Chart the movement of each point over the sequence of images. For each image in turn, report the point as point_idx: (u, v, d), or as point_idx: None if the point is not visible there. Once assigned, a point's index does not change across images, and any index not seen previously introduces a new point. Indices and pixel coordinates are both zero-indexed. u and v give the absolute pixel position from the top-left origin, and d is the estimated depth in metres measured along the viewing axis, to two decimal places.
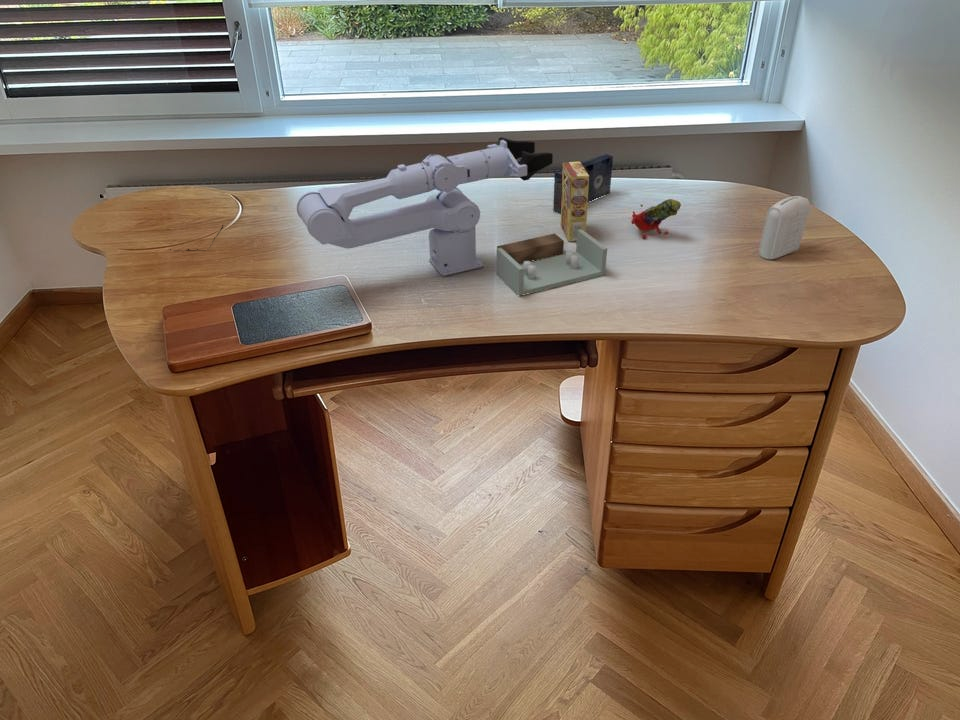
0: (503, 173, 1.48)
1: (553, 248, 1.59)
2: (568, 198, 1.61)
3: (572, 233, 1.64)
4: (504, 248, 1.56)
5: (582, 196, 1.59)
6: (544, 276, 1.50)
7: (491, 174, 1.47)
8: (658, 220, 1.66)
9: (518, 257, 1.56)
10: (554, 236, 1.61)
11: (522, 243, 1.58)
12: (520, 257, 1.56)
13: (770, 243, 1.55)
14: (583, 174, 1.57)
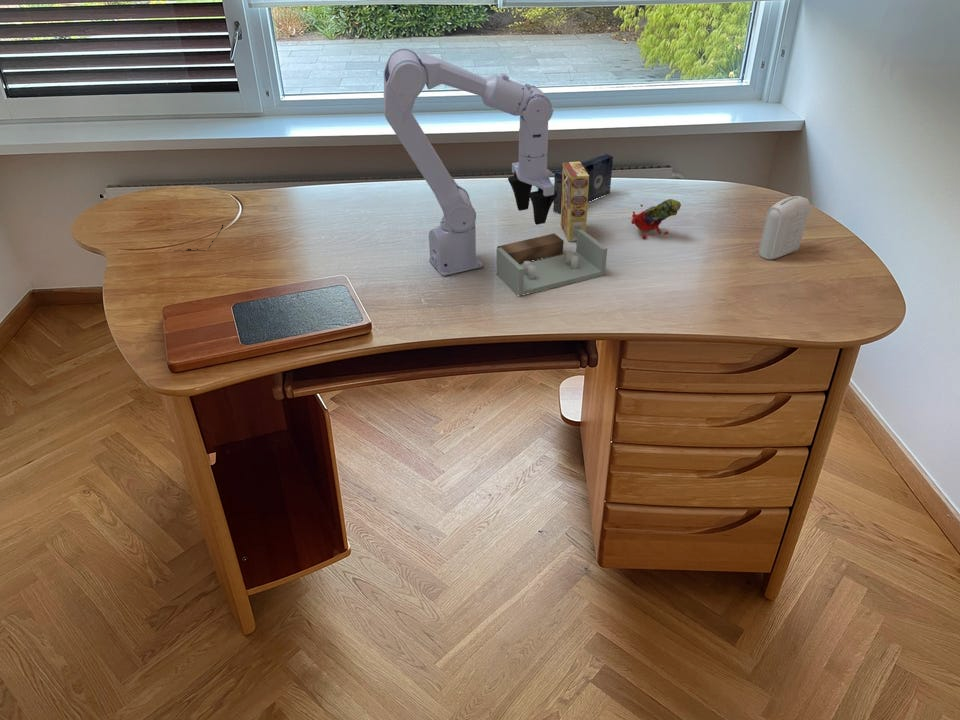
0: (530, 174, 1.46)
1: (553, 247, 1.59)
2: (568, 198, 1.61)
3: (572, 233, 1.64)
4: (504, 248, 1.56)
5: (582, 196, 1.59)
6: (544, 276, 1.50)
7: (533, 161, 1.45)
8: (658, 220, 1.66)
9: (518, 257, 1.56)
10: (554, 236, 1.61)
11: (522, 243, 1.58)
12: (520, 257, 1.56)
13: (770, 243, 1.55)
14: (583, 174, 1.57)
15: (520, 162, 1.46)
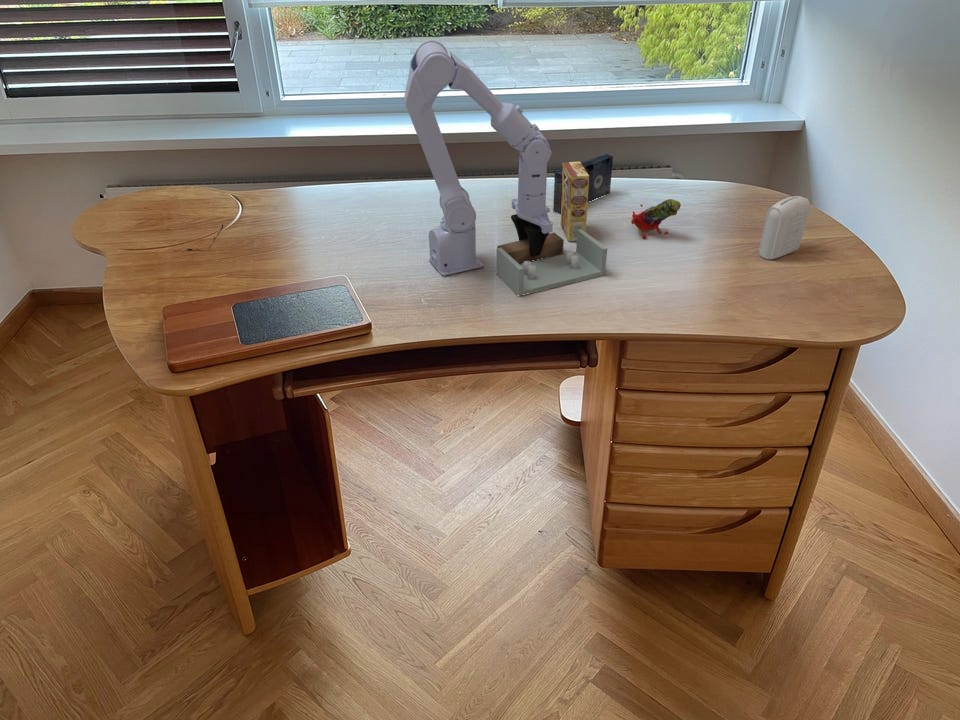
0: (529, 212, 1.51)
1: (553, 247, 1.59)
2: (568, 198, 1.61)
3: (572, 233, 1.64)
4: (505, 248, 1.56)
5: (582, 196, 1.59)
6: (544, 276, 1.50)
7: (532, 199, 1.49)
8: (658, 220, 1.66)
9: (519, 257, 1.56)
10: (554, 235, 1.61)
11: (522, 242, 1.58)
12: (521, 256, 1.56)
13: (770, 243, 1.55)
14: (583, 174, 1.57)
15: (519, 200, 1.51)
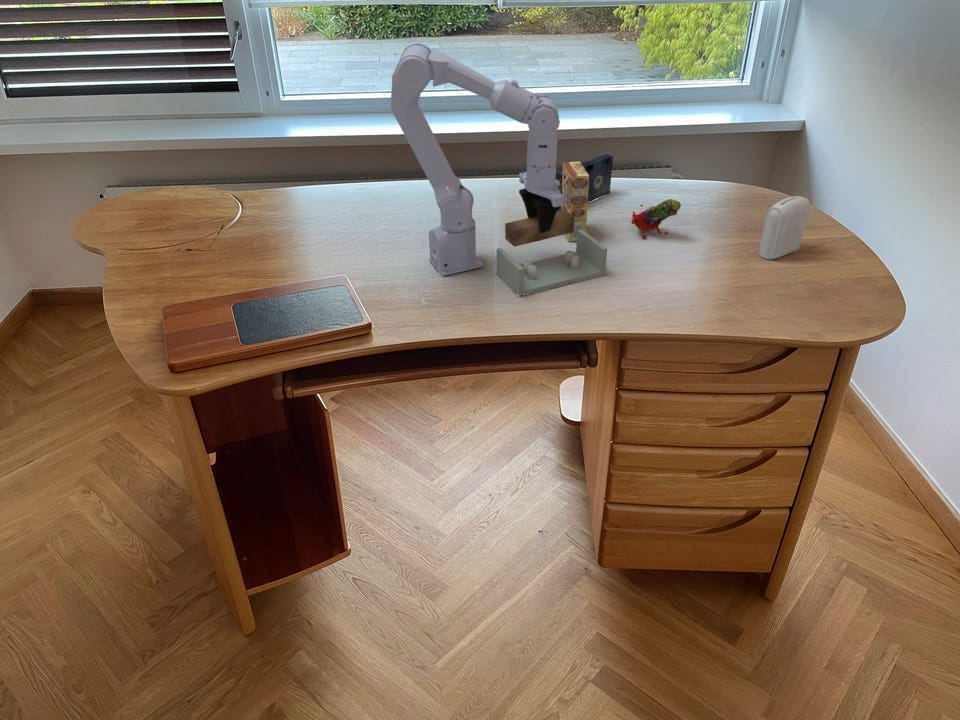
0: (539, 185, 1.44)
1: (564, 224, 1.52)
2: (568, 198, 1.61)
3: (572, 233, 1.64)
4: (513, 225, 1.50)
5: (582, 196, 1.59)
6: (544, 276, 1.50)
7: (542, 171, 1.43)
8: (658, 220, 1.66)
9: (527, 235, 1.50)
10: (564, 212, 1.54)
11: (531, 220, 1.52)
12: (530, 234, 1.50)
13: (770, 243, 1.55)
14: (583, 174, 1.57)
15: (528, 172, 1.44)
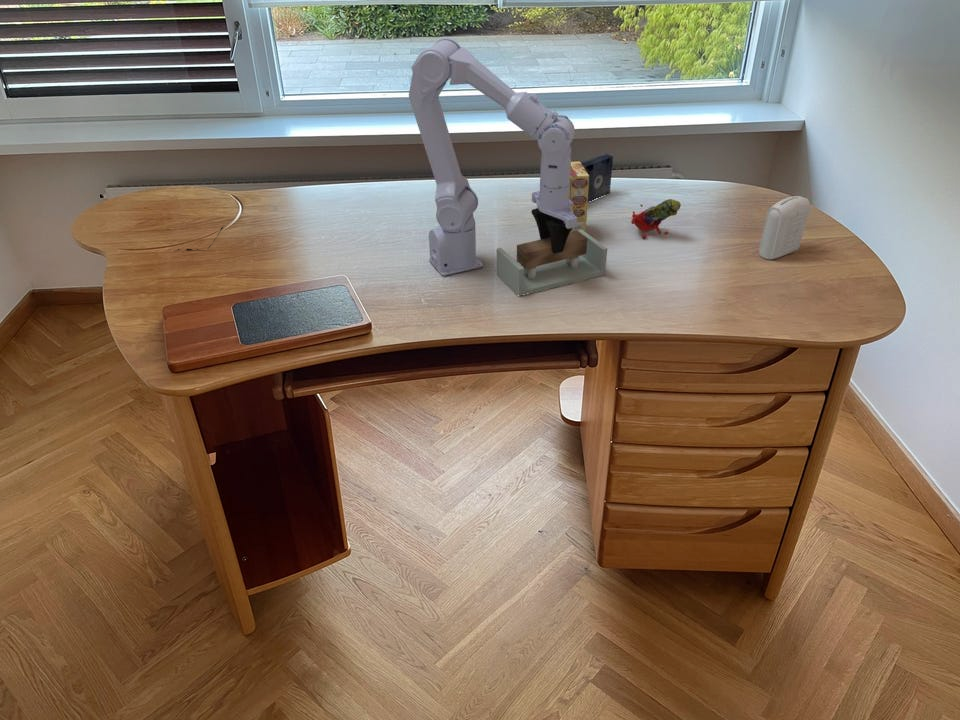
0: (552, 206, 1.41)
1: (576, 246, 1.49)
2: None
3: None
4: (525, 247, 1.47)
5: (582, 196, 1.59)
6: (544, 276, 1.50)
7: (555, 192, 1.40)
8: (658, 220, 1.66)
9: (539, 257, 1.47)
10: (577, 233, 1.51)
11: (543, 241, 1.49)
12: (542, 256, 1.47)
13: (770, 243, 1.55)
14: (583, 174, 1.57)
15: (541, 193, 1.41)
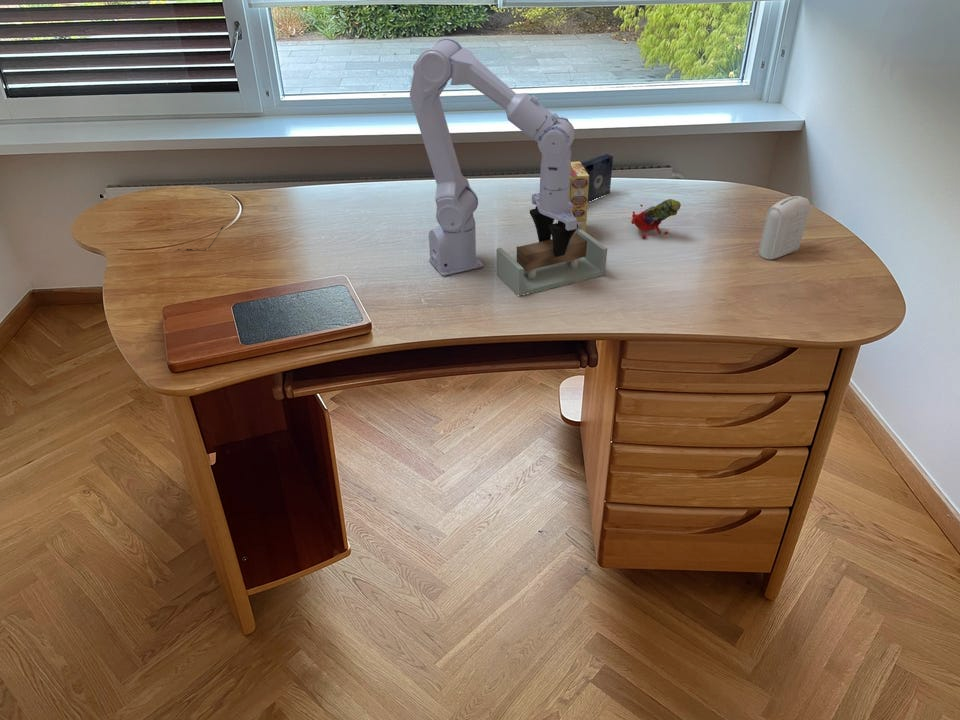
0: (552, 208, 1.42)
1: (576, 248, 1.50)
2: None
3: None
4: (525, 249, 1.47)
5: (582, 196, 1.59)
6: (544, 276, 1.50)
7: (555, 194, 1.40)
8: (658, 220, 1.66)
9: (539, 259, 1.47)
10: (577, 236, 1.52)
11: (543, 244, 1.49)
12: (541, 258, 1.47)
13: (770, 243, 1.55)
14: (583, 174, 1.57)
15: (541, 195, 1.42)
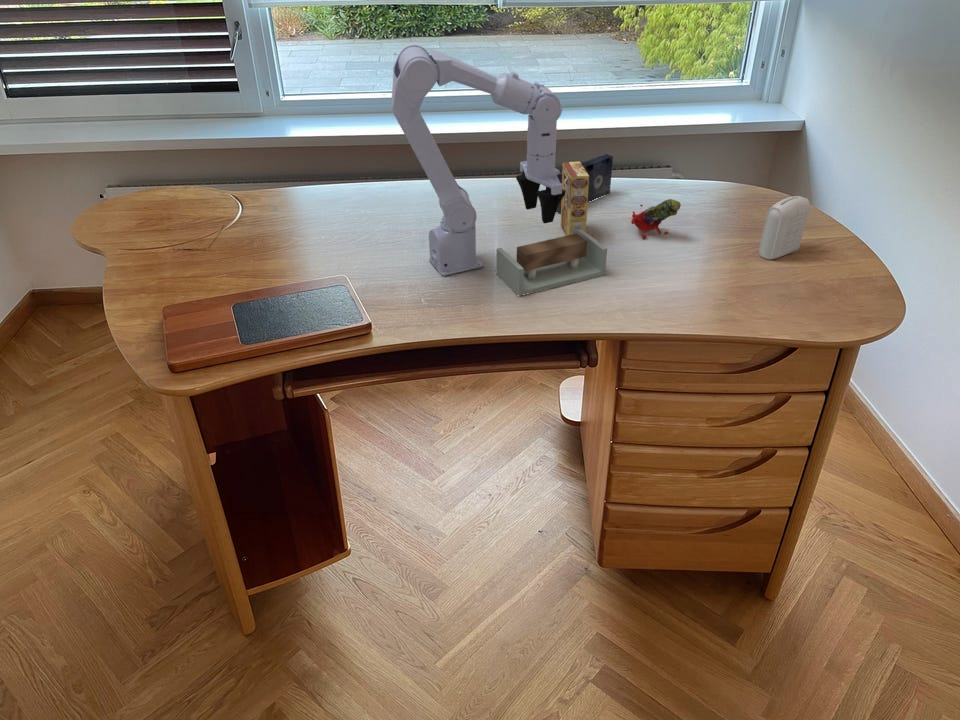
0: (538, 173, 1.47)
1: (576, 248, 1.50)
2: (568, 198, 1.61)
3: (572, 233, 1.64)
4: (525, 249, 1.47)
5: (582, 196, 1.59)
6: (544, 276, 1.50)
7: (541, 159, 1.45)
8: (658, 220, 1.66)
9: (539, 259, 1.47)
10: (577, 236, 1.52)
11: (543, 244, 1.49)
12: (541, 258, 1.47)
13: (770, 243, 1.55)
14: (583, 174, 1.57)
15: (528, 161, 1.47)
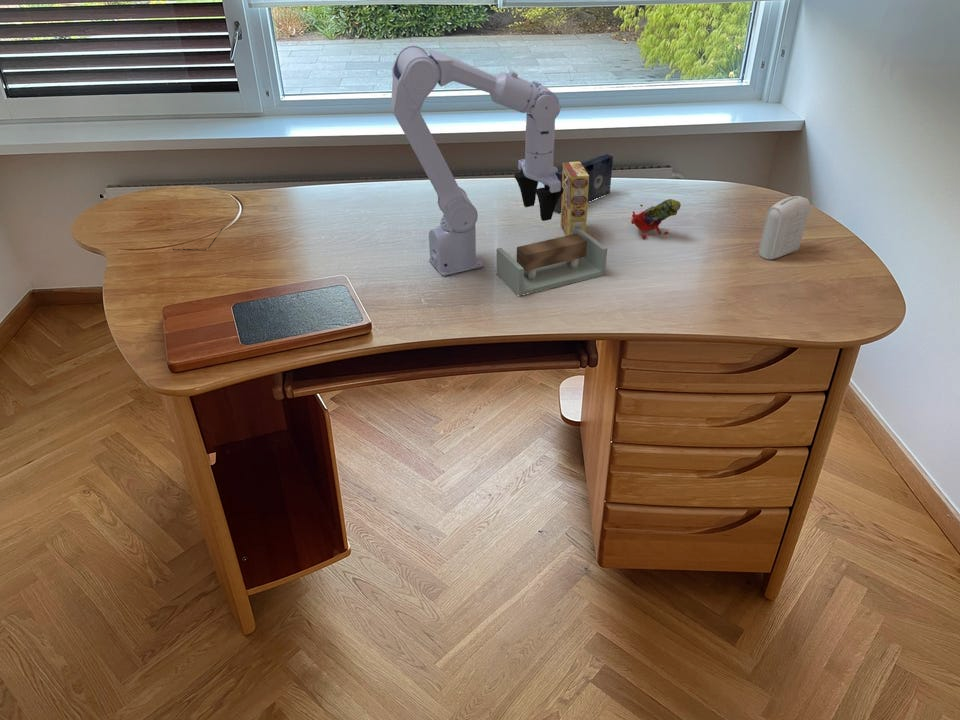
0: (537, 171, 1.48)
1: (576, 248, 1.50)
2: (568, 198, 1.61)
3: (572, 233, 1.64)
4: (525, 249, 1.47)
5: (582, 196, 1.59)
6: (544, 276, 1.50)
7: (540, 157, 1.46)
8: (658, 220, 1.66)
9: (539, 259, 1.47)
10: (577, 236, 1.52)
11: (543, 244, 1.49)
12: (541, 258, 1.47)
13: (770, 243, 1.55)
14: (583, 174, 1.57)
15: (527, 159, 1.48)
